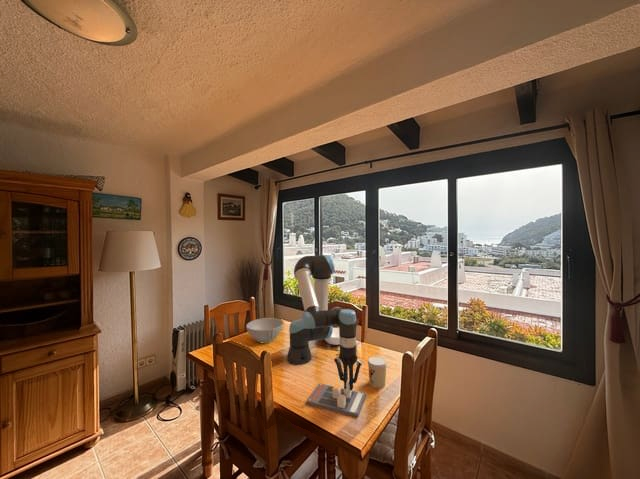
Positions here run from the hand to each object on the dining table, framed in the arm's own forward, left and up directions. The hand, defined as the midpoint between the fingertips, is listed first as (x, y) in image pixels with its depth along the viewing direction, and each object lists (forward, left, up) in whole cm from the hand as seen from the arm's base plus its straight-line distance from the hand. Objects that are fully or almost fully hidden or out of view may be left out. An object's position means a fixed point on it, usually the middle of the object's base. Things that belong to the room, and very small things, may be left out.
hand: (348, 396), depth 119 cm
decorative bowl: (-78, +47, -4) cm, 91 cm away
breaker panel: (-6, 0, -3) cm, 7 cm away
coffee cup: (+9, +20, -4) cm, 22 cm away
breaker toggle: (-6, 0, -2) cm, 6 cm away
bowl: (-28, +61, -4) cm, 67 cm away
